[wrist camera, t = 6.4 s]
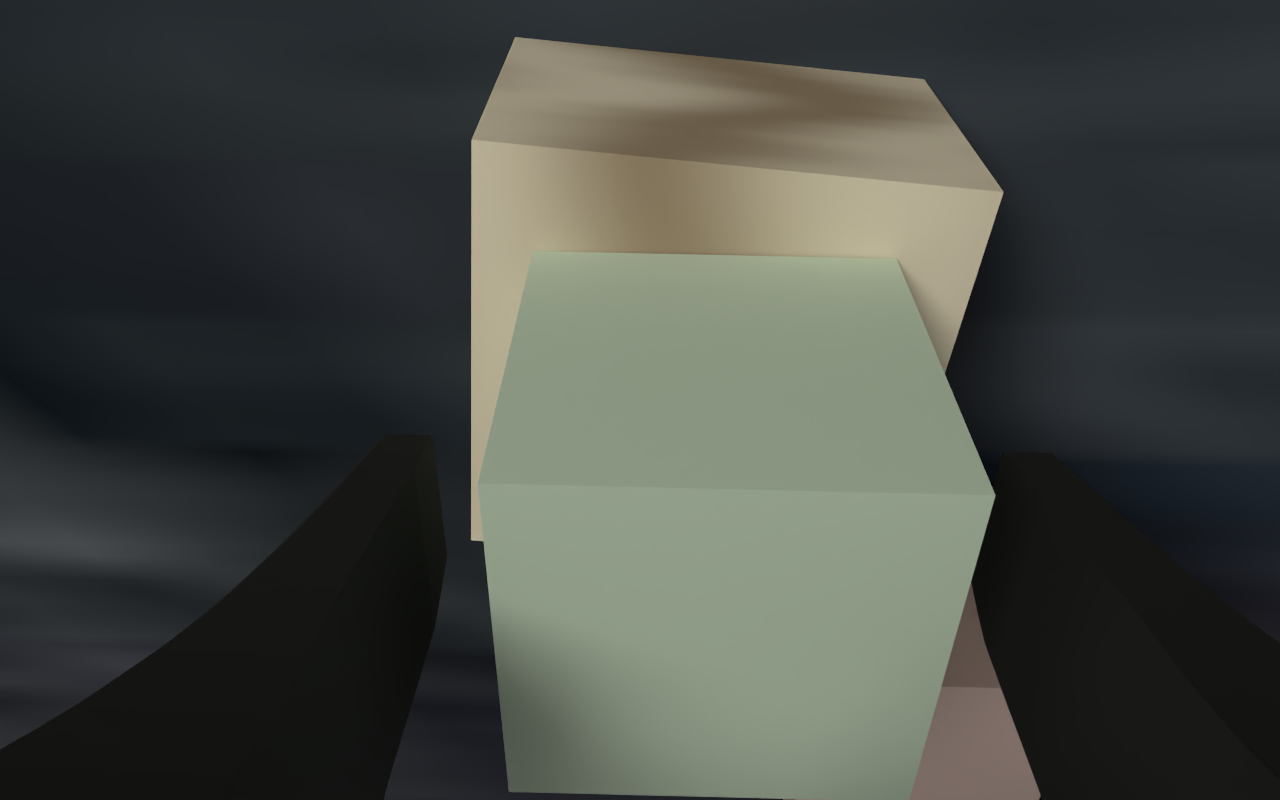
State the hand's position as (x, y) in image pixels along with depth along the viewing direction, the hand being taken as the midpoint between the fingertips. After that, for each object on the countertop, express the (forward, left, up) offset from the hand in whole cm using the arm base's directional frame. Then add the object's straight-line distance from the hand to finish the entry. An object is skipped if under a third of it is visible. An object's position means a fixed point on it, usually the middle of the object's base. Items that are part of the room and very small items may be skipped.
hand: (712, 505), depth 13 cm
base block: (0, 0, -8) cm, 8 cm away
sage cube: (0, 0, -3) cm, 3 cm away
